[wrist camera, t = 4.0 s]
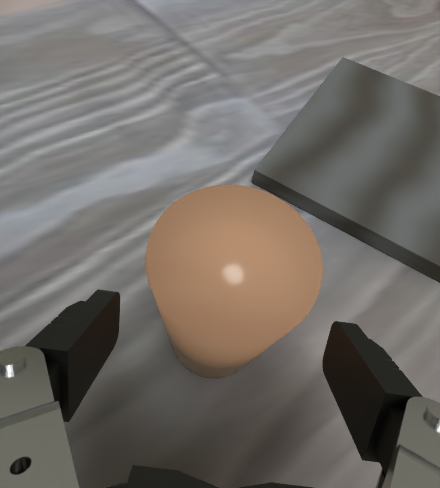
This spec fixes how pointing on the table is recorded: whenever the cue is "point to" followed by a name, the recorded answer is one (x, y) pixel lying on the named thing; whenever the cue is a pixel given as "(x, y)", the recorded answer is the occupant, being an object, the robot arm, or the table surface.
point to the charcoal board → (365, 163)
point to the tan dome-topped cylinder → (231, 275)
